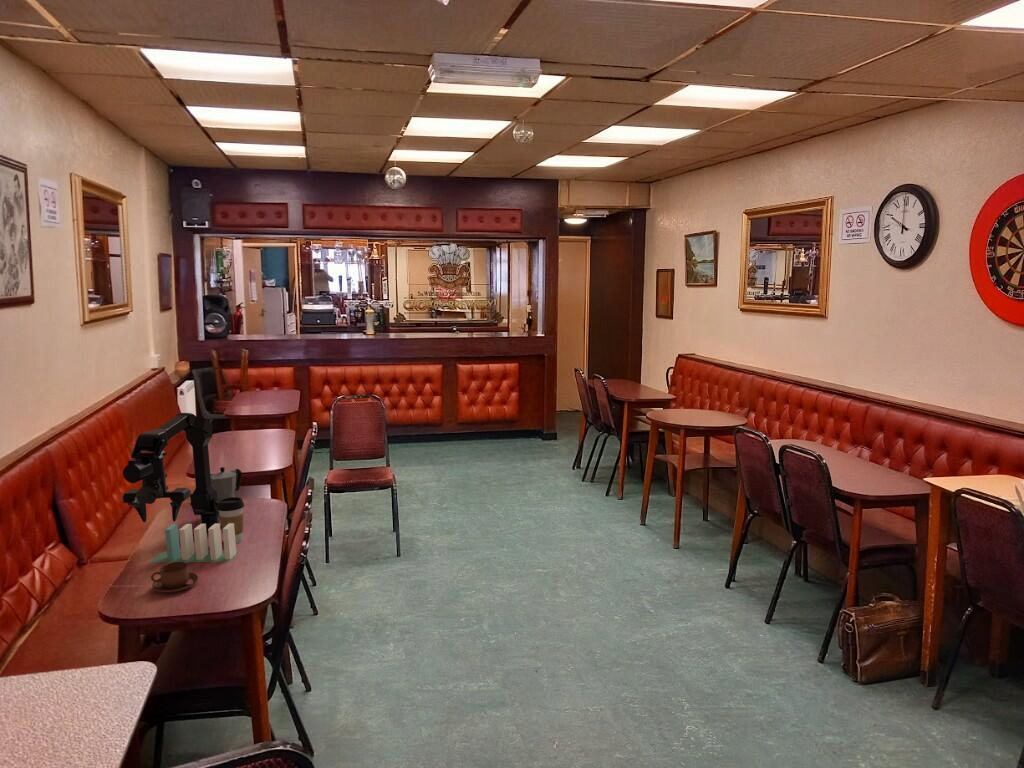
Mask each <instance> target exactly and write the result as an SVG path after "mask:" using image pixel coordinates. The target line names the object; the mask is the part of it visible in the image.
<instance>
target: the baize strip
mask: <svg viewBox="0 0 1024 768" xmlns="http://www.w3.org/2000/svg"><path fill="white" fill-rule="evenodd" d="M239 553H240V551H236V554H235V555H234V556H233V557H232V558H231V559H230V560H225V552H224V551H222V554H221V555H220V556H219V557H218V558H217V559H216V560H211V556H210V551H208V555H206V556H205V557H204V558H203V559H202V560H196V551H194V555H193V556H191V557H190V558H189V559H188V560H182V553H181V551H180V555H179V556H177V557H176V558H175V559H174V560H168V556H167V551H164V552H159V553H158V554H157V555H156V556H154V557H153V558H151V560H149V561H148V564H149V563H174V562H185V563H218V562H219V563H222V562H223V563H226V562H227V563H228V562H229V563H230V562H231V561H232V560H233V559H234V558H235V557H236V556H237V555H238V554H239Z"/></svg>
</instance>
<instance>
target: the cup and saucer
mask: <svg viewBox="0 0 1024 768" xmlns="http://www.w3.org/2000/svg"><path fill="white" fill-rule="evenodd" d="M155 575H160V577H159V578H158V579H157V578H156V579H155V578H154V577H155ZM150 579H151V581H152V584H151V585H152V589H153V590H155V591H156V592H158V593H166V594H167V593H176V592H177V593H178V592H180V591H184V590H187V589H189V588H191V587H193V586H194V585H195V584H196V583H197V582H198V579H199V576H198V575H197V574H196V573H193V572H190V571H189V564H188V562H168V563H167V564H164V565H162V566H161V567H160V568H159V571H156V572H152V573H151V576H150ZM189 580H192V583H188V581H189Z"/></svg>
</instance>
